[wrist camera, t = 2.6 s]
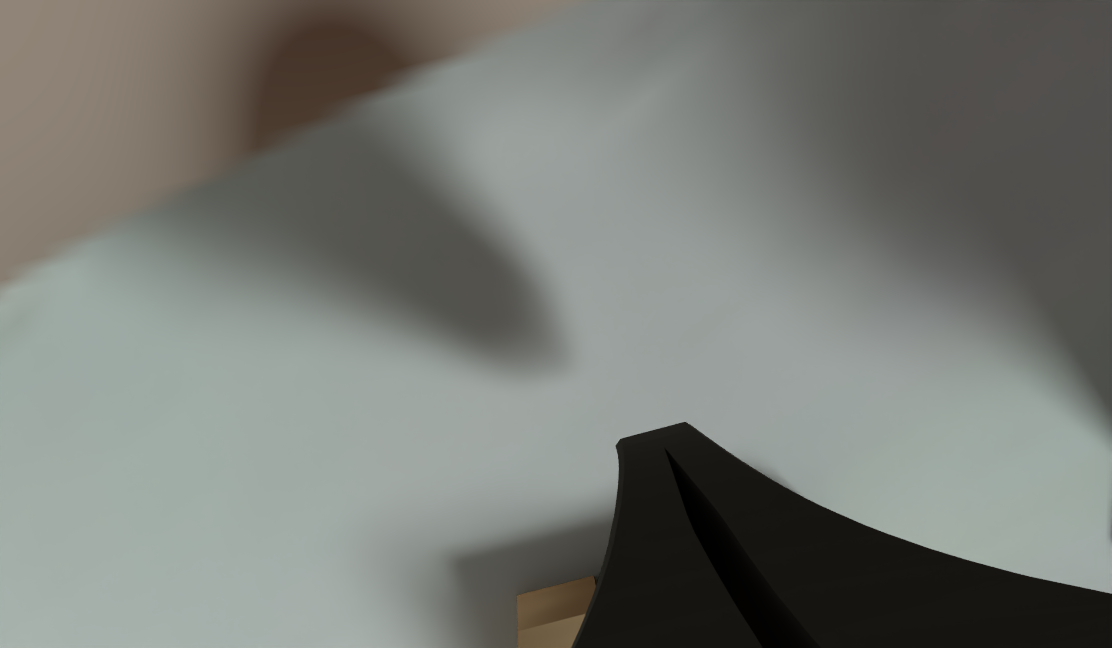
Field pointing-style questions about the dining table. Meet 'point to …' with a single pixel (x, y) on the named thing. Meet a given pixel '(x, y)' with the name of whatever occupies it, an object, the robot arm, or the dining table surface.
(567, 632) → the pallet
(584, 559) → the dining table surface
